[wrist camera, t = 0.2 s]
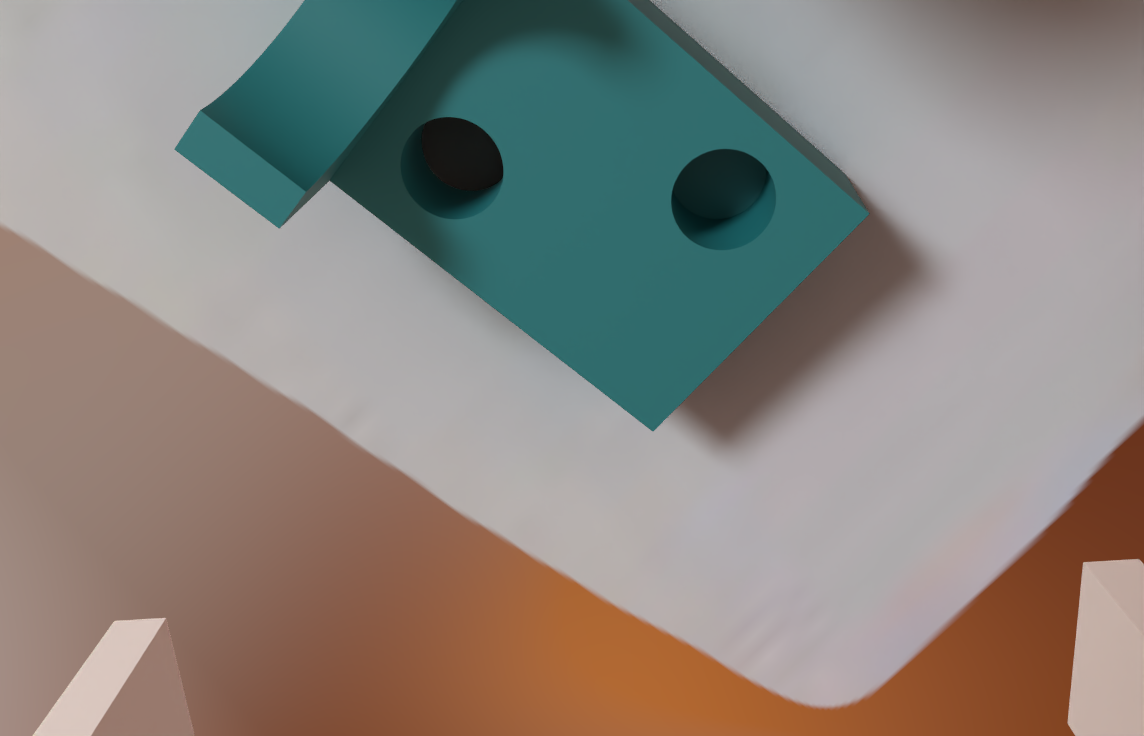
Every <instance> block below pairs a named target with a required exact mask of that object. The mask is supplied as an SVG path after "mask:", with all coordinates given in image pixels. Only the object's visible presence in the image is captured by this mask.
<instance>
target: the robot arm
mask: <svg viewBox="0 0 1144 736" xmlns="http://www.w3.org/2000/svg"><path fill="white" fill-rule="evenodd" d="M1068 725H1069V726H1070V728H1071V730H1072V731H1073V733H1074V734H1075V736H1144V564H1143V563H1142V562H1141V561H1140V560H1139V559H1133V560H1115V561H1100V562H1084V563H1083V571H1082V582H1081V593H1080V602H1079V613H1078V622H1077V633H1076V643H1075V653H1074V663H1073V674H1072V684H1071V694H1070V704H1069V714H1068ZM33 736H195V735H194V731H193V727H192V723H191V719H190V714H189V711H188V706H187V702H186V698H185V694H184V690H183V686H182V682H181V678H180V673H179V669H178V665H177V661H176V657H175V653H174V649H173V644H172V640H171V636H170V632H169V628H168V624H167V620H166V618H157V619H141V620H124V621H114V623H113V624H112V625H111V626H110V628H109V629H108V631H107V632H106V634H105V635H104V636H103V638H102V639H101V641H100V642H99V643H98V645H97V646H96V648H95V649H94V650H93V652H92V653H91V655H90V656H89V657H88V659H87V660H86V662H85V663H84V664H83V666H82V667H81V669H80V670H79V671H78V673H77V674H76V676H75V677H74V678H73V680H72V681H71V683H70V684H69V685H68V687H67V688H66V690H65V691H64V693H63V694H62V695H61V697H60V698H59V700H58V701H57V702H56V704H55V705H54V706H53V708H52V709H51V711H50V712H49V713H48V715H47V716H46V718H45V719H44V720H43V722H42V723H41V725H40V726H39V727H38V729H37V730H36V732H35V733H34V734H33Z"/></svg>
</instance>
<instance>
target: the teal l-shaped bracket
mask: <svg viewBox="0 0 1144 736" xmlns="http://www.w3.org/2000/svg"><path fill="white" fill-rule="evenodd" d="M442 117H455V118H461V119H465V120H467V121H470V122H472V123H474V124H476V125H477V126H479V127H480V128H482V129H483V130H484V131H485V132H486V133H487V134H488V135H489V136H490V137H491V138H492V139H493V141H494V142H495V144H496V145H497V147H498V149H499V152H500V154H501V158H502V162H503V179H502V180H500V181H499V182H498V183H496V184H495V185H493V186H491V187H489V188H486V189H483V190H477V191H466V190H460V189H456V188H454V187H451V186H449V185H447V184H446V183H444V182H443V181H441V180H440V179H439V178H438V177H437V176H436V175H435V174H434V173H433V172H432V170H431V169H430V167H429V166H428V164H427V162H426V160H425V157H424V154H423V150H422V132H423V128H424V125H425V123H426V122H428V121H430V120H433V119H437V118H442ZM175 150H176V151H177V152H179V153H180V154H181V155H183V156H184V157H185V158H186V159H188V160H189V161H190V162H192V163H193V164H194V165H196V166H197V167H198V168H200V169H201V170H202V171H204V172H205V173H206V174H208V175H209V176H210V177H212V178H213V179H214V180H216V181H217V182H218V183H220V184H221V185H222V186H224V187H225V188H226V189H227V190H229V191H230V192H231V193H233V194H234V195H235V196H237V197H238V198H239V199H241V200H242V201H243V202H245V203H246V204H247V205H249V206H250V207H251V208H253V209H254V210H255V211H257V212H258V213H259V214H261V215H262V216H263V217H265V218H266V219H267V220H268V221H270V222H271V223H272V224H274V225H275V226H276V227H278V228H280V227H281V226H282V225H284V224H285V223H286V222H287V221H288V220H289V219H290V218H291V217H292V216H293V215H294V214H295V213H296V212H297V211H298V210H299V209H300V208H301V207H302V206H303V205H304V204H306V203H307V202H308V201H309V200H310V199H311V198H312V197H313V196H314V195H315V194H316V193H317V192H318V191H319V190H320V189H321V188H322V187H323V186H324V185H325V184H326V183H327V182H329V181H331V182H332V183H333V184H335V185H336V186H337V187H339V188H340V189H341V190H343V191H344V192H345V193H346V194H348V195H349V196H350V197H352V198H353V199H354V200H355V201H357V202H358V203H359V204H361V205H362V206H363V207H364V208H366V209H367V210H368V211H370V212H371V213H372V214H373V215H375V216H376V217H377V218H379V219H380V220H381V221H382V222H384V223H385V224H386V225H388V226H389V227H390V228H391V229H393V230H394V231H395V232H397V233H398V234H399V235H400V236H402V237H403V238H404V239H406V240H407V241H408V242H409V243H411V244H412V245H413V246H415V247H416V248H417V249H418V250H420V251H421V252H422V253H424V254H425V255H426V256H428V257H429V258H430V259H431V260H433V261H434V262H435V263H437V264H438V265H439V266H440V267H442V268H443V269H444V270H446V271H447V272H448V273H449V274H451V275H452V276H453V277H455V278H456V279H457V280H458V281H460V282H461V283H462V284H464V285H465V286H466V287H467V288H469V289H470V290H471V291H473V292H474V293H475V294H476V295H478V296H479V297H480V298H482V299H483V300H484V301H485V302H487V303H488V304H489V305H491V306H492V307H493V308H494V309H496V310H497V311H498V312H500V313H501V314H502V315H503V316H505V317H506V318H507V319H509V320H510V321H511V322H512V323H514V324H515V325H516V326H518V327H519V328H520V329H522V330H523V331H524V332H525V333H527V334H528V335H529V336H531V337H532V338H533V339H534V340H536V341H537V342H538V343H540V344H541V345H542V346H543V347H545V348H546V349H547V350H549V351H550V352H551V353H552V354H554V355H555V356H556V357H558V358H559V359H560V360H561V361H563V362H564V363H565V364H567V365H568V366H569V367H570V368H572V369H573V370H574V371H576V372H577V373H578V374H579V375H581V376H582V377H583V378H585V379H586V380H587V381H588V382H590V383H591V384H592V385H594V386H595V387H596V388H597V389H599V390H600V391H601V392H603V393H604V394H605V395H606V396H608V397H609V398H610V399H612V400H613V401H614V402H616V403H617V404H618V405H619V406H621V407H622V408H623V409H625V410H626V411H627V412H628V413H630V414H631V415H632V416H634V417H635V418H636V419H637V420H639V421H640V422H641V423H643V424H644V425H645V426H646V427H648V428H649V429H650V430H652V431H654V430H655V429H656V428H657V427H658V426H659V425H660V424H661V423H662V422H663V421H664V420H665V419H666V418H667V417H668V416H669V415H670V414H671V413H672V412H673V411H674V410H675V409H676V408H677V407H678V406H679V405H680V404H681V403H682V402H683V401H684V400H685V399H686V398H687V397H688V396H689V395H690V394H691V393H692V392H693V391H694V390H695V389H696V388H697V387H698V386H699V385H700V384H701V383H702V382H703V381H704V380H705V379H706V378H707V377H708V376H709V375H710V374H711V373H712V372H713V371H714V370H715V369H716V368H717V367H718V366H719V365H720V364H721V363H722V362H723V361H724V360H725V359H726V358H727V357H728V356H729V355H730V354H731V353H732V352H733V351H734V350H735V349H736V348H737V347H738V346H739V345H740V344H741V343H742V342H743V341H744V340H745V339H746V338H747V337H748V336H749V335H750V334H751V333H752V332H753V331H754V330H755V329H756V328H757V327H758V326H759V325H760V324H761V323H762V321H763V320H764V319H765V318H766V317H767V316H768V315H769V314H770V313H771V312H772V311H773V310H774V309H775V308H776V307H777V306H778V305H779V304H780V303H781V302H782V301H783V300H784V299H785V298H786V297H787V296H788V295H789V294H790V293H791V292H792V291H793V290H794V289H795V288H796V287H797V286H798V285H799V284H800V283H801V282H802V281H803V280H804V279H805V278H806V277H807V276H808V275H809V274H810V273H811V272H812V271H813V270H814V269H815V268H816V267H817V266H818V265H819V264H820V263H821V262H822V261H823V260H824V259H825V258H826V257H827V256H828V255H829V254H830V253H831V252H832V251H833V250H834V249H835V248H836V247H837V246H838V245H839V244H840V243H841V242H842V241H843V240H844V239H845V238H846V237H847V236H848V235H849V234H850V233H851V232H852V231H853V230H854V229H855V228H856V227H857V226H858V225H859V224H860V223H861V222H862V221H863V220H864V219H865V218H866V217H867V216H868V215H869V212H868V210H867V209H866V207H865V205H864V204H863V202H862V201H861V199H860V197H859V196H858V194H857V192H856V191H855V189H854V188H853V186H852V184H851V183H850V181H849V179H848V178H847V176H846V175H845V174H844V173H843V172H842V171H841V170H840V169H839V168H838V167H836V166H835V165H834V164H833V163H832V162H831V161H830V160H829V159H827V158H826V157H825V156H824V155H823V154H822V153H821V152H820V151H818V150H817V149H816V148H815V147H814V146H813V145H812V144H811V143H809V142H808V141H807V140H806V139H805V138H804V137H803V136H802V135H800V134H799V133H798V132H797V131H796V130H795V129H794V128H792V127H791V126H790V125H789V124H788V123H787V122H786V121H785V120H783V119H782V118H781V117H780V116H779V115H778V114H777V113H776V112H774V111H773V110H772V109H771V108H770V107H769V106H768V105H767V104H765V103H764V102H763V101H762V100H761V99H760V98H759V97H758V96H756V95H755V94H754V93H753V92H752V91H751V90H750V89H749V88H747V87H746V86H745V85H744V84H743V83H742V82H741V81H740V80H738V79H737V78H736V77H735V76H734V75H733V74H732V73H731V72H729V71H728V70H727V69H726V68H725V67H724V66H723V65H722V64H720V63H719V62H718V61H717V60H716V59H715V58H714V57H713V56H711V55H710V54H709V53H708V52H707V51H706V50H705V49H704V48H702V47H701V46H700V45H699V44H698V43H697V42H696V41H695V40H693V39H692V38H691V37H690V36H689V35H688V34H687V33H685V32H684V31H683V30H682V29H681V28H680V27H679V26H678V25H676V24H675V23H674V22H673V21H672V20H671V19H670V18H669V17H667V16H666V15H665V14H664V13H663V12H662V11H661V10H660V9H658V8H657V7H656V6H655V5H654V4H653V3H652V2H651V1H649V0H305V1H304V2H303V3H302V5H301V6H300V7H299V9H298V10H297V11H296V13H295V14H294V15H293V17H292V18H291V19H290V21H289V22H288V23H287V25H286V26H285V27H284V28H283V30H282V31H281V32H280V33H279V35H278V36H277V37H276V38H275V39H274V41H273V42H272V43H271V44H270V45H269V47H268V48H267V49H266V50H265V51H264V52H263V54H262V55H261V56H260V57H259V58H258V59H257V60H256V61H255V63H254V64H253V65H252V66H251V67H250V68H249V69H248V70H247V71H246V72H245V73H244V74H243V75H242V76H241V77H240V78H239V79H238V80H237V81H236V82H235V83H234V84H233V85H232V86H231V87H230V88H229V89H228V90H227V91H225V92H224V93H223V94H222V95H221V96H220V97H218V98H217V99H216V100H215V101H213V102H212V103H211V104H209V105H208V106H206V107H205V108H203V109H202V110H200V111H199V113H198V114H197V116H196V117H195V119H194V120H193V122H192V123H191V125H190V126H189V128H188V129H187V131H186V132H185V134H184V135H183V137H182V138H181V140H180V141H179V143H178V145H177V146H176V148H175Z"/></svg>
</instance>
